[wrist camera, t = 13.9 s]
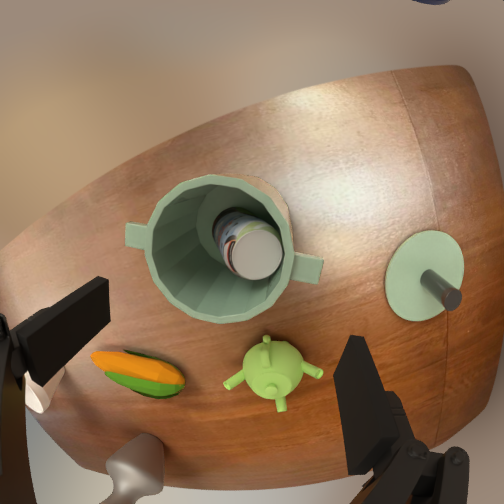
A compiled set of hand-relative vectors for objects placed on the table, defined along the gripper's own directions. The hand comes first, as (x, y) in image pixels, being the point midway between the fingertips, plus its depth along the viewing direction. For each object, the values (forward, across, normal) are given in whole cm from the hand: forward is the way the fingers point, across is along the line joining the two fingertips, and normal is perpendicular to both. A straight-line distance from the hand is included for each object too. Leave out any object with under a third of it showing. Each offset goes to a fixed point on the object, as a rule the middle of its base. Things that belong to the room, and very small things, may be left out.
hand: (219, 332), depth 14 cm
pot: (+26, -3, 0) cm, 26 cm away
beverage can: (+25, -3, 0) cm, 25 cm away
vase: (+26, -17, -58) cm, 66 cm away
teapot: (+26, +6, -21) cm, 34 cm away
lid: (+25, +26, -1) cm, 36 cm away
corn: (+26, -18, -29) cm, 43 cm away
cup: (+26, -44, -42) cm, 67 cm away
